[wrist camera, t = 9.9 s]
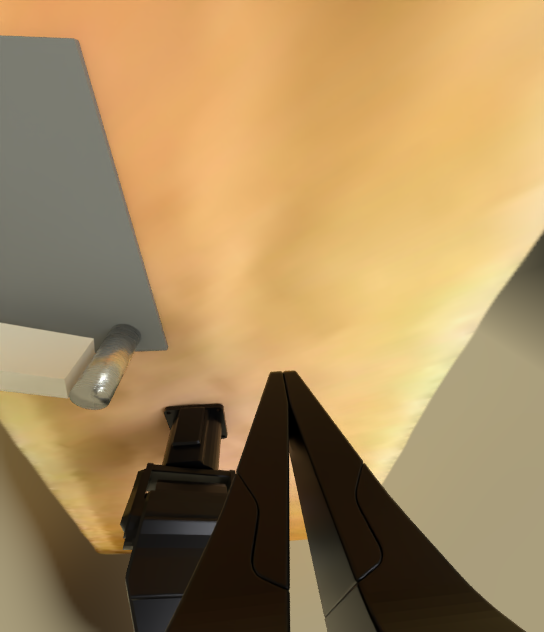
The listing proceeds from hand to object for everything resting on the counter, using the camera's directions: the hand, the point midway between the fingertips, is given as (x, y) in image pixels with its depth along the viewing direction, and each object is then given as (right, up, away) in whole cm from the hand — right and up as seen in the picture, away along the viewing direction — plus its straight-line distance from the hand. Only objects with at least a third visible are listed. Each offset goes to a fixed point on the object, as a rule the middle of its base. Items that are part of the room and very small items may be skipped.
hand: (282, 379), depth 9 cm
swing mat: (-17, +7, +9) cm, 20 cm away
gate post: (-13, +1, +14) cm, 19 cm away
